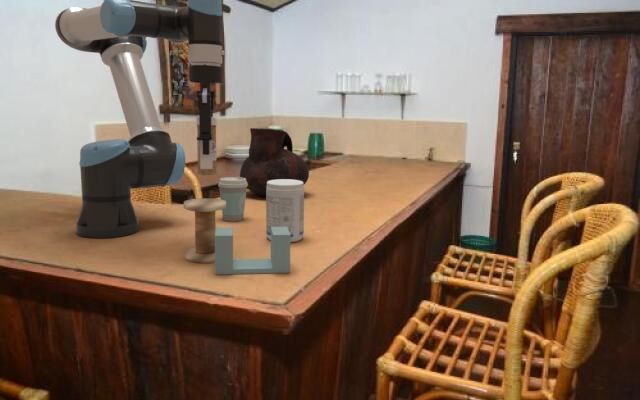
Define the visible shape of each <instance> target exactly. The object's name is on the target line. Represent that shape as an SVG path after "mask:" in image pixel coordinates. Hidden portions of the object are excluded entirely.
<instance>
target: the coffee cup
mask: <svg viewBox="0 0 640 400" xmlns="http://www.w3.org/2000/svg"><path fill="white" fill-rule="evenodd" d="M217 186H218V188H219V197H220V198H219V199H221V200H224V201H226V208H225V209H223V210H221V214H222V220H224V221H226V222H240V221H243V220H244V214H245V208H246V196H247V190H248V189H247V186H248V183H247V181H246V179H245V178H241V177H240V176H229V177H228V176H225V177H221V178H219V182H218V185H217Z"/></svg>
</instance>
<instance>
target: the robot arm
mask: <svg viewBox="0 0 640 400" xmlns="http://www.w3.org/2000/svg"><path fill="white" fill-rule="evenodd" d="M222 2H223V1H222V0H187V2H186V6H182V7H181V6H180V7H179V6H172V5H166V4H159V3H152V2H145V1H140V0H103V2H102V3H101V5H99V6H93V7H90V8H85V7H83V8H82V7H69V8H67V9H64V10H62V11H61V12H60V13H58V15H57V16H56V19H55V21H54V22H55V23H54V28H55V31H56V35H57V36H58V38H59V39H60V40H61V41H62V43H64V44H65V45H66V46H68V47H69V48H72V49H74V50H77V51H79V52H85V53H96V54H99V55H100V58H101V62H103V64H104V65H105V66H108V67H109V68H110V73H111V76H112V79H113V83H114V85H115V89H116V92H117V96H118V100H119V104H120V105H121V110H122V112H123V115H124V120H125V122H126V127H127V129H128V132H129V136H130V137H129V139H124V138H122V139H121V138H117V139H106V140H97V141H94V142H89V143H86V144H84V145H83V146H82V147H81V148H80V151H79V153H80V154H79V163H78V165H79V168H80V169H79V170H80V183H81V199H82V200H81V201H82V202H81V207H80V209H79V214H78V216H77V219H76V220H77V221H76V223H75V228H76V229H75V231H76V234H77V235H78V236H81V237H85V238H96V239H97V238H98V239H103V238H106V239H107V238H117V237H125V236H128V235H132V234H135V233H137V232H138V231H139V230H140V220H139V218H138V216H137V213H136V211H135V208H134V206H133V203H132V195H131V194H132V193H131V192H132V190H134V189H147V188H157V187H159V188H160V187H161V188H163V187H166V186H172V185H176V184H177V183H179V182H180V181H181V179H182V178H183V176H184V173H185V169H186V153H185V150H184V147H183V146H182V144H180V143H179V142H175V141H174V142H173V141H172V139H171V135H170V133H169V132H168V131H166V130H164V129H162V126H161V122H160V119H159V115H158V113H157V109H156V106H155V103H154V99H153V97H152V94H151V93H152V92H151V90H150V87H149V84H148V81H147V78H146V75H145V71H144V67H143V65H142V61H141V59H142V58H143V56H144V53H145V52H146V49H147V45H148V43H147V39H146V38H151V39H159V40H160V39H162V40H167V41H169V42H172V43H184V42H188V44H187V52H188V55H187V56H188V57H187V58H188V63H189V64H191V65H189V67H188V80H189V81H188V82H190V83H195V84H199V86H200V87H199V90H197V91H196V98H197V109H198V113H199V114H198V117H199V125H200V134H199V137H196V141H197V140H200V169H213V168H212V140H211V139H212V134H211V117H214V110H215V99H216V91H213V87H212V84H222V83H223V81H224V80H223V71H224V70H223V67H222V66H220V65H222V64H223V56H225V55H226V52H225V50H223V15H224V12H223V7H222Z"/></svg>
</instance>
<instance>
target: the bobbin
mask: <svg viewBox="0 0 640 400" xmlns="http://www.w3.org/2000/svg"><path fill="white" fill-rule="evenodd" d="M225 208H226V201H224V200H221V198H212V197H211V198H209V197H207V198H205V197H204V198H201V197H200V198H191V199H187V200H184V201H183V209H184V210H185V211H191V212H194V233H195V234H194V239H195V242H194V243H195V247H191V248H188V249H186V250H185V251H184V259H185V260H186V261H187V262H190V263H197V264H199V263H200V264H208V263H210V264H211V263H215V232H216V222H217V221H216V212H218V211H222V210H223V209H225Z"/></svg>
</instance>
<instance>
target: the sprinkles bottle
mask: <svg viewBox="0 0 640 400" xmlns="http://www.w3.org/2000/svg"><path fill="white" fill-rule="evenodd" d="M217 120H218V119H217V117H215V116H213V117H211V134H212V139H211V140H212V168H213V169H200V140H197V139H196V145H197V147H196V148H197V149H196V151H197V152H196V155H197V156H196V157H197V158H196V159H197V175H199V176H215V175H217V174H218V172H217V125H218V124H217V123H218V122H217ZM195 122H196V128H197V129H196V130H197V131H196V132H197V134H196V135H197V137H199V134H200V125H199V116H196V121H195ZM197 137H196V138H197Z"/></svg>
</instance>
